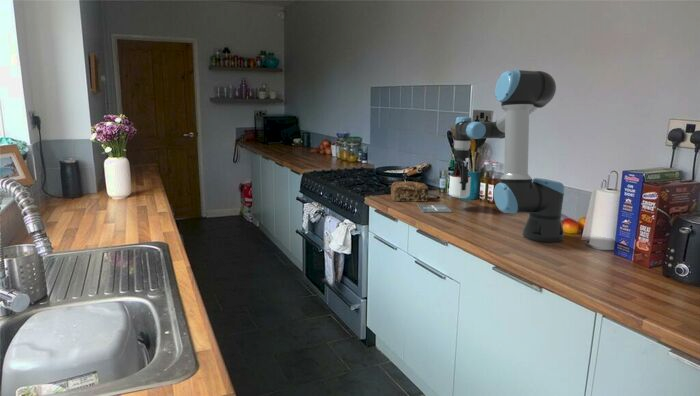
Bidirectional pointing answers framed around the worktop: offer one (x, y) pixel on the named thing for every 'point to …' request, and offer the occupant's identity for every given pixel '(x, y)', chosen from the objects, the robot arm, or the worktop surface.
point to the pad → (434, 209)
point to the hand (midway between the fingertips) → (459, 194)
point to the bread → (409, 191)
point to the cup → (458, 186)
